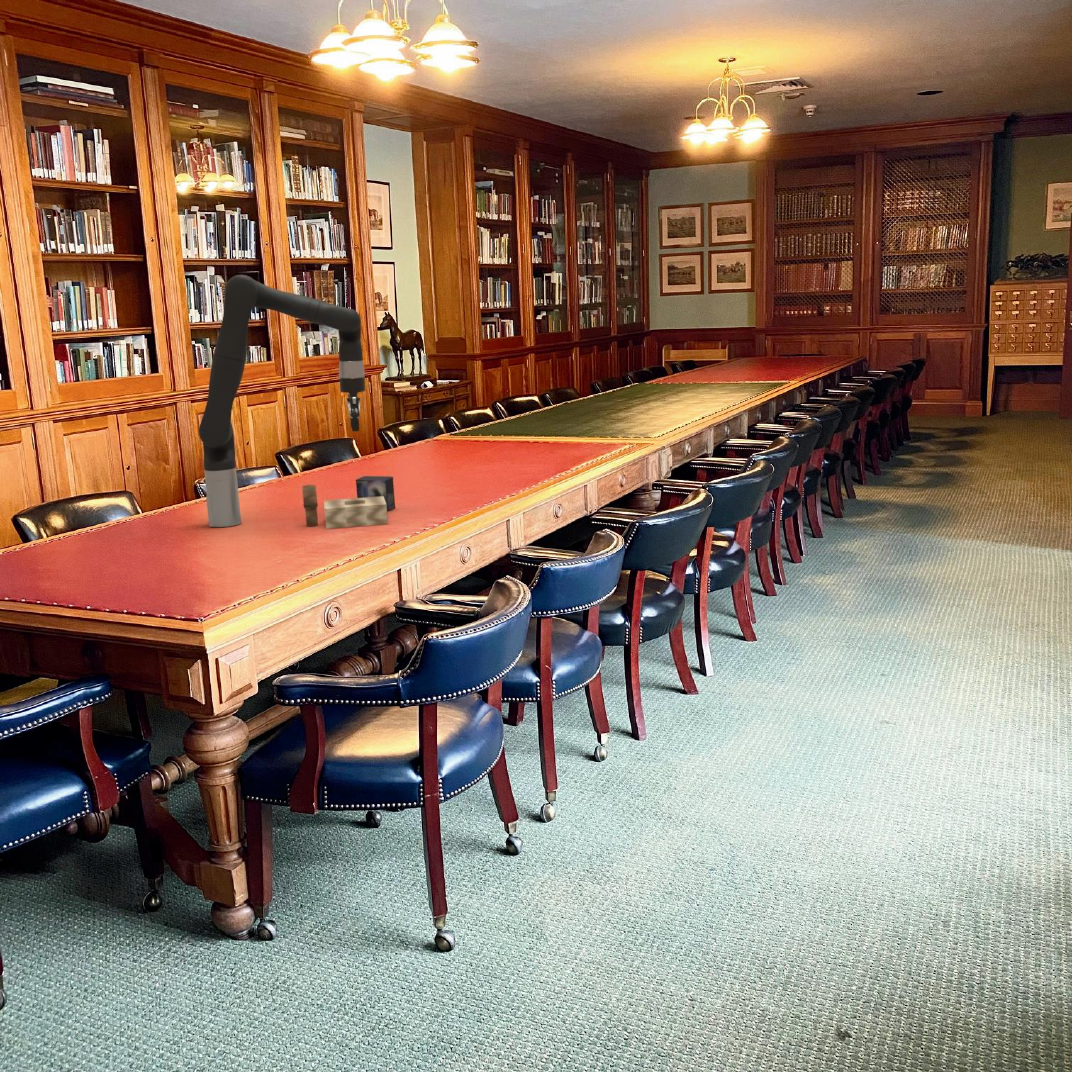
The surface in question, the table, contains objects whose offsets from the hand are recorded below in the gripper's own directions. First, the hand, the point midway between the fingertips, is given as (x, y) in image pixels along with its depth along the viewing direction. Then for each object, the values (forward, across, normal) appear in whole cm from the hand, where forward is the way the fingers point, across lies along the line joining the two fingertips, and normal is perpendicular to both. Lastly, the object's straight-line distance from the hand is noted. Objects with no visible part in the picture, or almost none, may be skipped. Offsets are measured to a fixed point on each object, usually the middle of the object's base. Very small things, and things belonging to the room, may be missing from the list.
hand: (355, 429), depth 324 cm
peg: (+27, +10, -15) cm, 32 cm away
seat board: (+27, +10, -2) cm, 29 cm away
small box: (+27, -7, +6) cm, 28 cm away
